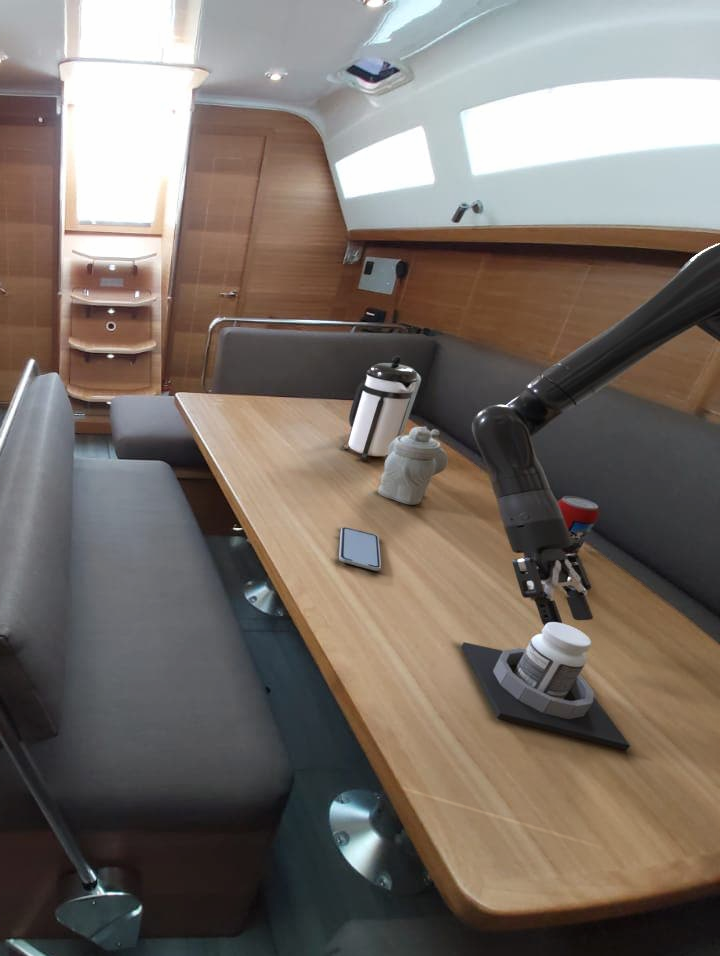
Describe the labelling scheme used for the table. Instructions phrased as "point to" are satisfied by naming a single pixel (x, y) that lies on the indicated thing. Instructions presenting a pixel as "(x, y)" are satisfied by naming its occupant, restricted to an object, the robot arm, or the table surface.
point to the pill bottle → (554, 659)
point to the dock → (533, 717)
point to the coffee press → (380, 407)
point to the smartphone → (359, 548)
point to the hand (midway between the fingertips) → (568, 622)
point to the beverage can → (578, 520)
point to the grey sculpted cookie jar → (412, 465)
